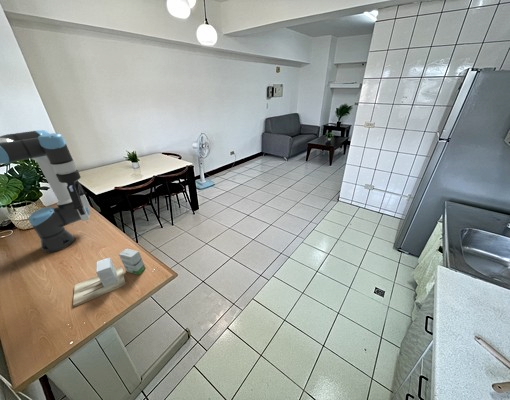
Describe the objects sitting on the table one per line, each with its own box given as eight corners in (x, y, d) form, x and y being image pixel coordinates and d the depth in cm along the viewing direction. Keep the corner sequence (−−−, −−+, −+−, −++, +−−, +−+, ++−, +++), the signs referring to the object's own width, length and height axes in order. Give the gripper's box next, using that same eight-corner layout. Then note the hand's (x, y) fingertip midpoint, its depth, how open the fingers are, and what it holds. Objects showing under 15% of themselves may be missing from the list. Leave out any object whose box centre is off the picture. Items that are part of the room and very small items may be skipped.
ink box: (146, 268, 111) (139, 250, 105) (138, 275, 107) (131, 257, 101) (133, 264, 114) (126, 247, 108) (125, 271, 110) (117, 254, 104)
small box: (104, 277, 105) (96, 261, 100) (117, 272, 108) (110, 256, 102) (104, 288, 99) (95, 272, 94) (118, 283, 101) (110, 267, 96)
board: (75, 286, 102) (74, 284, 101) (122, 267, 112) (122, 266, 111) (74, 306, 92) (72, 304, 92) (125, 284, 102) (124, 282, 101)
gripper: (59, 165, 98) (78, 204, 109) (51, 183, 80) (75, 228, 91) (78, 162, 102) (95, 200, 112) (75, 178, 84) (96, 223, 94)
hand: (86, 213), depth 101 cm, fingers open, 13 cm apart
